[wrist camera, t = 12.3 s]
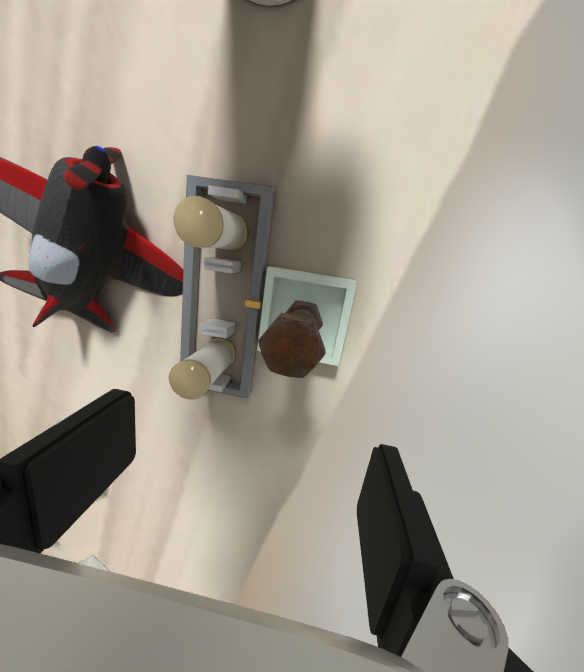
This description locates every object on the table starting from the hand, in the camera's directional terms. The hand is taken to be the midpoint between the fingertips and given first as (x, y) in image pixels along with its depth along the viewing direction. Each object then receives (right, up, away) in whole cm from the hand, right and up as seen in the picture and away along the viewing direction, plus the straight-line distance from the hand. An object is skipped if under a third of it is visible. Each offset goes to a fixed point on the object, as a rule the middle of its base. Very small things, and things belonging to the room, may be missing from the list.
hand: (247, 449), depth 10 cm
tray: (+4, +7, +27) cm, 28 cm away
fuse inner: (-6, +18, +25) cm, 32 cm away
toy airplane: (-25, +17, +28) cm, 42 cm away
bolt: (+3, +7, +27) cm, 28 cm away
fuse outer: (-9, +2, +30) cm, 32 cm away
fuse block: (-8, +10, +28) cm, 30 cm away
